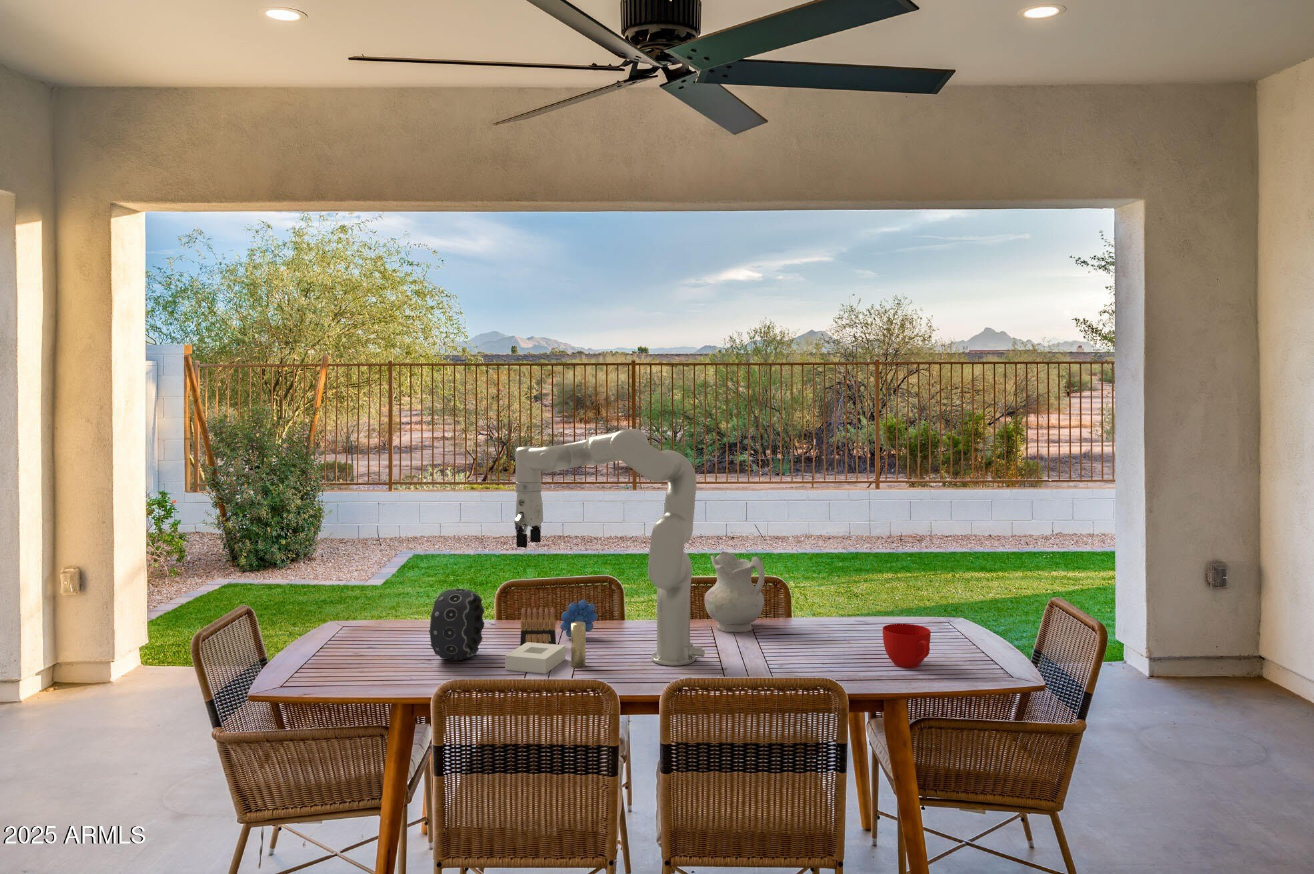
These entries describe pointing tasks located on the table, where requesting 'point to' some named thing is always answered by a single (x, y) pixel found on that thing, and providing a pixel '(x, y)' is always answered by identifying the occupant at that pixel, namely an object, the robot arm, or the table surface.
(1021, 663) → the table surface
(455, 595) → the dark grey toy tire
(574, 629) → the gold cylindrical peg
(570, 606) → the blue lumpy cluster
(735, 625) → the ceramic pitcher
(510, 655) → the white square socket block
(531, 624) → the ammunition clip
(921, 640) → the ceramic cup
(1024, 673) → the table surface
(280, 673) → the table surface
